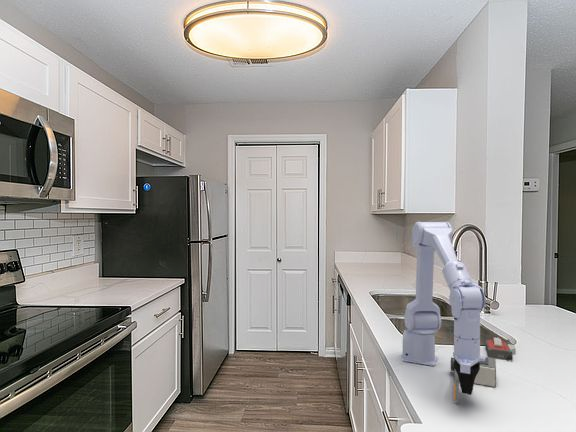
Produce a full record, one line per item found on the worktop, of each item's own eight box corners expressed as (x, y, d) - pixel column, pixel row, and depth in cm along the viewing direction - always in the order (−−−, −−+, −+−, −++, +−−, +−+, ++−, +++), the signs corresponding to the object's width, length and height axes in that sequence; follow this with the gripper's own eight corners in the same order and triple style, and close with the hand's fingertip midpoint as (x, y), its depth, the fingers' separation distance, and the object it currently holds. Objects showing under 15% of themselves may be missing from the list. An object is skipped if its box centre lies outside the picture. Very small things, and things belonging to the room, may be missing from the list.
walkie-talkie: (519, 364, 119) (511, 344, 137) (519, 349, 119) (511, 332, 138) (487, 359, 123) (483, 341, 141) (487, 345, 123) (483, 329, 141)
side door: (453, 379, 106) (453, 362, 106) (457, 380, 106) (457, 363, 106) (453, 402, 93) (453, 383, 93) (459, 403, 92) (459, 384, 92)
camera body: (449, 379, 107) (449, 359, 107) (452, 369, 114) (452, 350, 114) (496, 387, 102) (496, 366, 102) (495, 376, 109) (495, 356, 109)
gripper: (485, 347, 85) (485, 409, 85) (485, 330, 98) (485, 384, 98) (450, 343, 89) (450, 402, 89) (455, 327, 102) (455, 379, 102)
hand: (466, 392), depth 94 cm, fingers closed
